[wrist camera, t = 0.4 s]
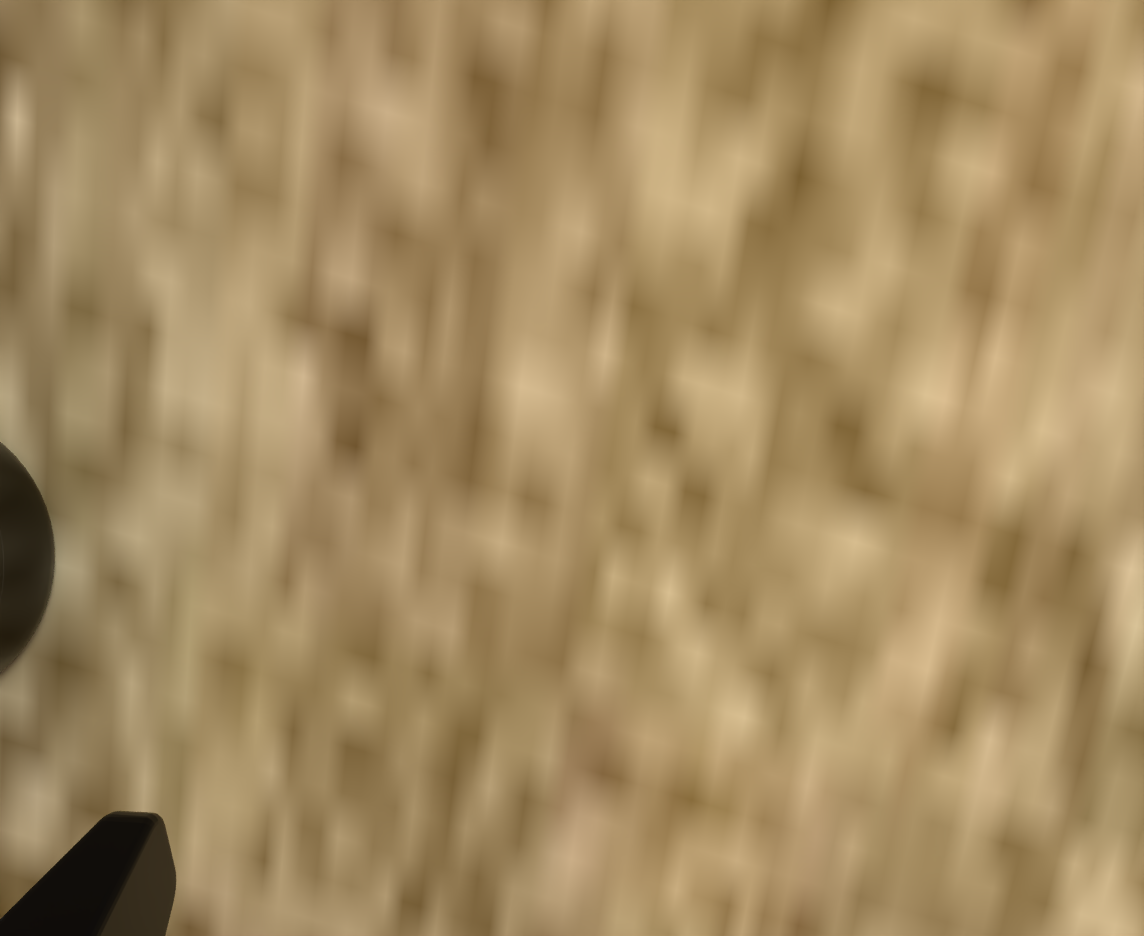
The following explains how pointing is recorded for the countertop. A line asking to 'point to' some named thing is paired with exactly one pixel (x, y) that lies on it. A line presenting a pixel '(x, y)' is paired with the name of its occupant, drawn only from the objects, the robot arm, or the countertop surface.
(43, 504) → the supplement bottle
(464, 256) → the countertop surface
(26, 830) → the countertop surface
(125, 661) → the countertop surface
